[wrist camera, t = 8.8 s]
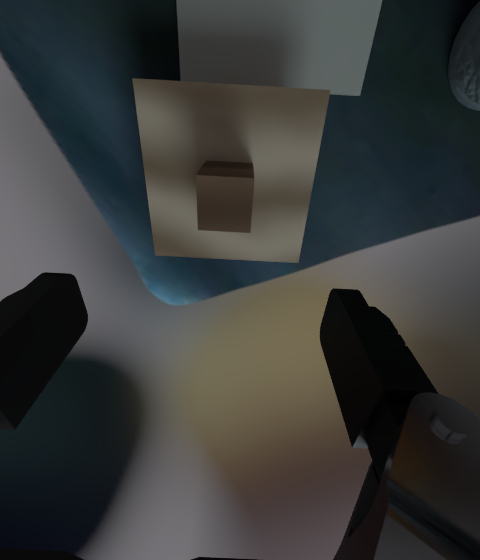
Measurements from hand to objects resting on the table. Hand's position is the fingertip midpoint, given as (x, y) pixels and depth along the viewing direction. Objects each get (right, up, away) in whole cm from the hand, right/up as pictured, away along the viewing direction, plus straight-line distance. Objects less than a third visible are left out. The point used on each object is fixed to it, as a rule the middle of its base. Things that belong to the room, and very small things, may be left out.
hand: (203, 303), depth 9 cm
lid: (0, +9, +13) cm, 16 cm away
